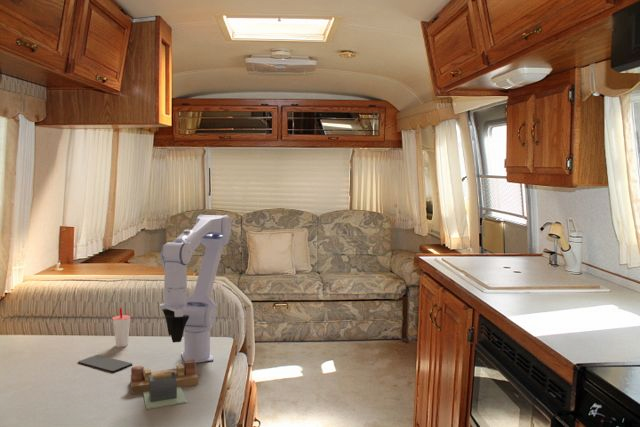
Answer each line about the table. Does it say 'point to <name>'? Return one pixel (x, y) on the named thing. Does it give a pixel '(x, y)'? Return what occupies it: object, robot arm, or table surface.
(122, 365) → the smartphone
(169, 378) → the grey block
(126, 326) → the cup
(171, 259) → the robot arm
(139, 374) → the block sculpture plaque
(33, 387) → the table surface
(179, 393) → the mat
